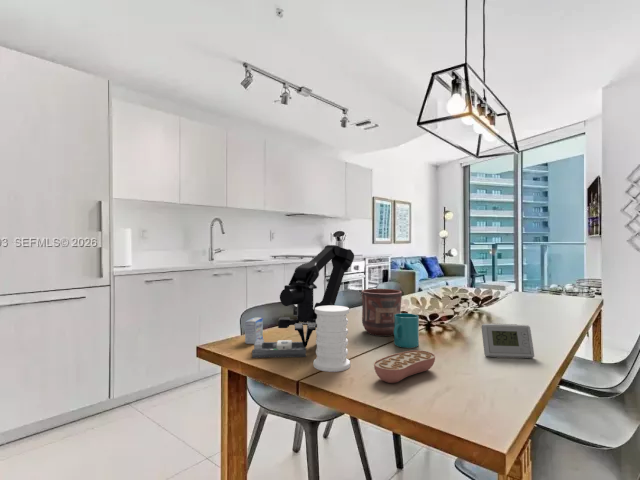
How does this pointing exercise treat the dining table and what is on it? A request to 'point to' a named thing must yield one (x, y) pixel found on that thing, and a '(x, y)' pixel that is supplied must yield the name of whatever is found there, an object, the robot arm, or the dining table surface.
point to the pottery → (380, 310)
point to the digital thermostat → (507, 341)
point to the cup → (406, 330)
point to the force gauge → (283, 344)
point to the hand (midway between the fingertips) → (305, 346)
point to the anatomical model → (403, 365)
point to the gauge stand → (277, 350)
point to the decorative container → (331, 338)
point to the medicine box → (253, 330)
